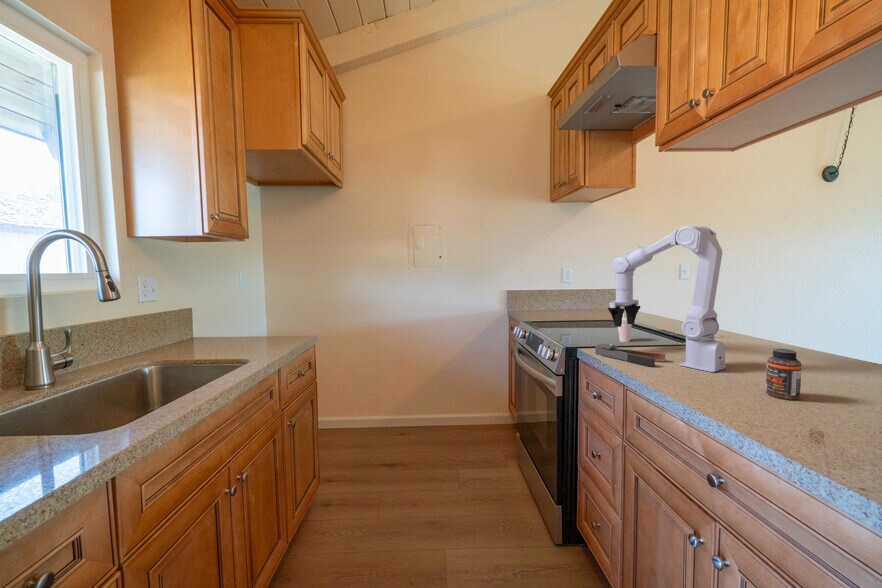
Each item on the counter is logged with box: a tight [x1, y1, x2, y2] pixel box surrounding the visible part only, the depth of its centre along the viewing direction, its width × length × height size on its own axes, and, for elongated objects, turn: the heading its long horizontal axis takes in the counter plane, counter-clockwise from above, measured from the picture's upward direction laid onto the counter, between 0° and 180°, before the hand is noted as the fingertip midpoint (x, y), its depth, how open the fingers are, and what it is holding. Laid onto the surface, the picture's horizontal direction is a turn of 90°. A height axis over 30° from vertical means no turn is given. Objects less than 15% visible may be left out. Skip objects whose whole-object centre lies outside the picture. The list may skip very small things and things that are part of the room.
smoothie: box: [617, 312, 633, 343], centre depth 148 cm, size 6×6×14 cm
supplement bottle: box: [765, 348, 803, 401], centre depth 83 cm, size 6×6×11 cm
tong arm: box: [612, 347, 666, 363], centre depth 121 cm, size 18×3×2 cm, turn 50°
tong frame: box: [594, 343, 656, 368], centre depth 120 cm, size 21×5×4 cm, turn 28°
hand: (624, 325), depth 131 cm, fingers open, 7 cm apart
